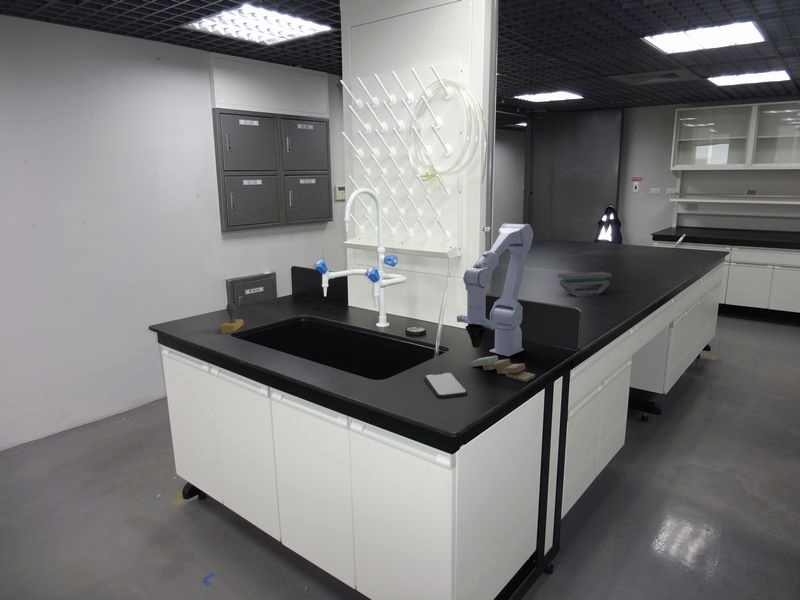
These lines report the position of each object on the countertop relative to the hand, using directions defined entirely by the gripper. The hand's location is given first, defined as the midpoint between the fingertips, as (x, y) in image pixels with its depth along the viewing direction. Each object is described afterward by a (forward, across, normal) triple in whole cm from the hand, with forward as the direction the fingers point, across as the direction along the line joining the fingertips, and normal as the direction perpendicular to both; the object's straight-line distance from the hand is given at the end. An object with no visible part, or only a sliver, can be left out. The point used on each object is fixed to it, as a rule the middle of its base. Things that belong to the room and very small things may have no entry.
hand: (476, 346), depth 168 cm
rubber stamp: (+6, -102, -33) cm, 107 cm away
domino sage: (+5, 0, 0) cm, 5 cm away
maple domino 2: (+5, +10, 0) cm, 11 cm away
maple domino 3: (+6, +13, 0) cm, 14 cm away
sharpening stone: (+6, -24, +121) cm, 124 cm away
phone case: (+7, +5, -21) cm, 23 cm away
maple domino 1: (+5, +5, 0) cm, 7 cm away
